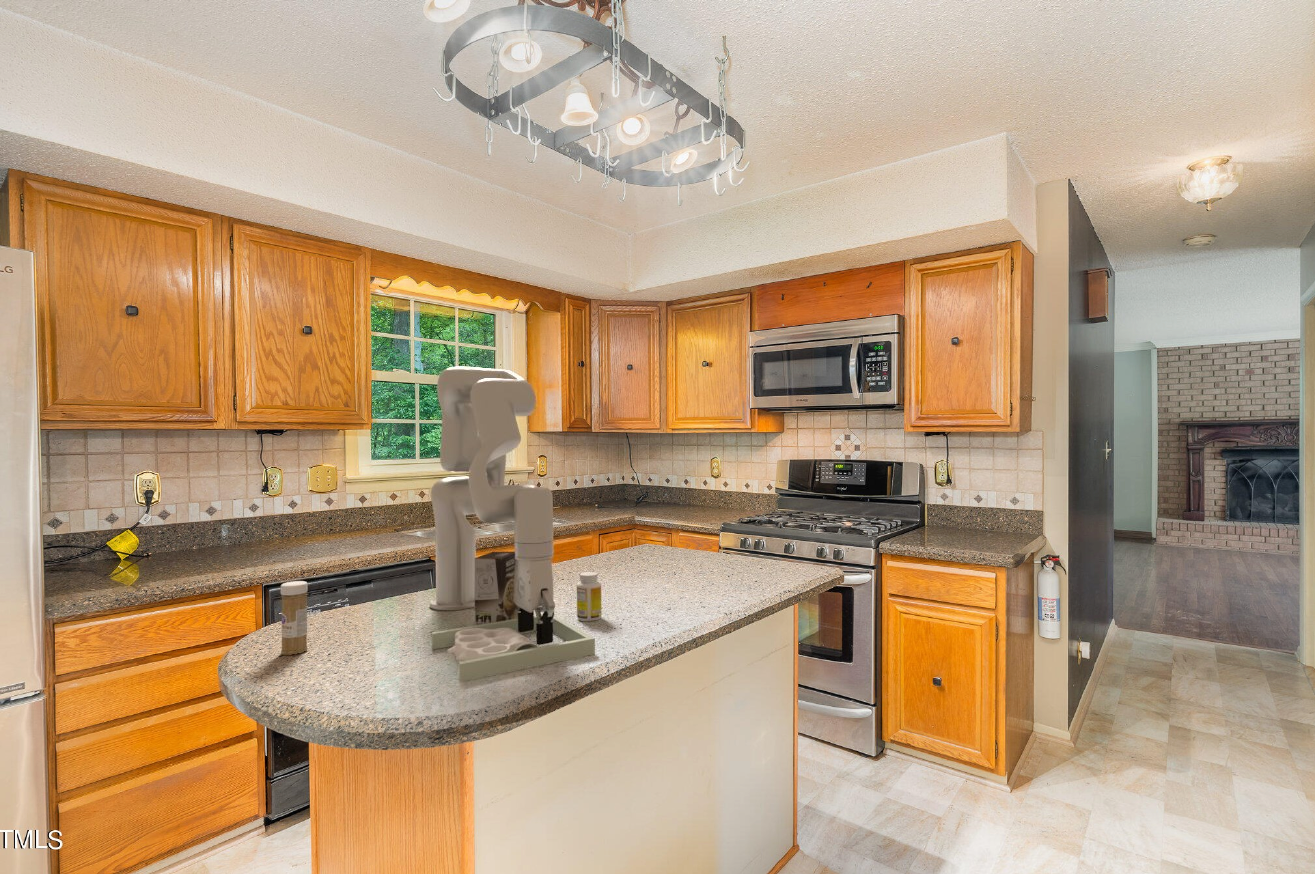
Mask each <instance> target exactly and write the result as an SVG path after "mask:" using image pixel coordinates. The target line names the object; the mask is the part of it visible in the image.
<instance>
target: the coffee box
mask: <svg viewBox="0 0 1315 874" xmlns="http://www.w3.org/2000/svg"><path fill="white" fill-rule="evenodd" d="M515 562H516V559H515V551H491V552H489V553H485V554H483V555H479V556H476V558H475V607H474V626H475V625H481V624H487V623H493V622H499V621H506V620H512V619H518V610H517V605H516V604H515V603H514V572H515Z"/></svg>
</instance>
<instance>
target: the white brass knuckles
mask: <svg viewBox="0 0 1315 874" xmlns="http://www.w3.org/2000/svg"><path fill="white" fill-rule="evenodd" d="M536 647H539V645H538V644H537V643H536V642H533V641H531V640H530V639H528V638H527V637H526V636H524V635H523V634H519V633H517V631H515V630H513V629H511V628H498V629H482V628H470V629H464V630H461V631H458V632H457V633H456V634H455V646H451V647H450V648H448V649H447V650H446V652H449V653H451V654H454V655H455V656H454V657H455V660H456V661H459V662H462V661H467V660H472V659H478V658H483V657H488V656H493V655H499V654H504V653H509V652H514V651H520V650H525V649H530V648H536Z"/></svg>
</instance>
